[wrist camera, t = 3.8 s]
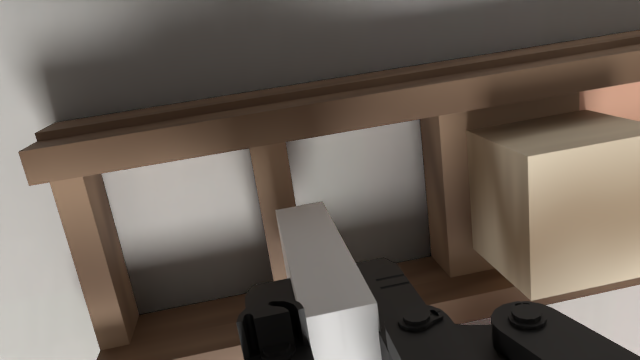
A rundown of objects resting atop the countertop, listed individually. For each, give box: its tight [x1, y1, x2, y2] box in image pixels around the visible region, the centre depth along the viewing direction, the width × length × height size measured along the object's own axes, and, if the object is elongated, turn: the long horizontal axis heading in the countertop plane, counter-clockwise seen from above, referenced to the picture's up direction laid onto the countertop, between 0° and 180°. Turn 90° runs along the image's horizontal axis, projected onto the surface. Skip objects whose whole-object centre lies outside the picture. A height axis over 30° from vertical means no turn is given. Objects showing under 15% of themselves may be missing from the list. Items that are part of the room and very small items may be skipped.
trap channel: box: [19, 30, 640, 360], centre depth 18 cm, size 9×27×5 cm, turn 99°
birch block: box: [466, 110, 640, 301], centre depth 17 cm, size 4×4×4 cm
